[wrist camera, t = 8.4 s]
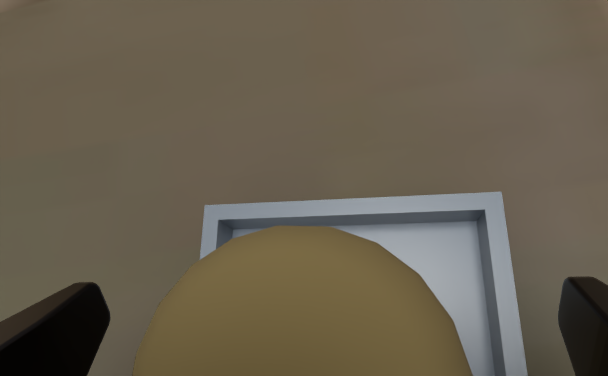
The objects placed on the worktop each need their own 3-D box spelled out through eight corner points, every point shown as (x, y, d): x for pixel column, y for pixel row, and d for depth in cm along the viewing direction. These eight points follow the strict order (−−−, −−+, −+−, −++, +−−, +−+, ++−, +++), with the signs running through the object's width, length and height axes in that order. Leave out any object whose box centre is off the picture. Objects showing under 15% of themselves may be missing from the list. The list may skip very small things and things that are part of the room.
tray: (532, 546, 13) (557, 585, 11) (203, 514, 15) (173, 542, 13) (488, 209, 17) (501, 191, 15) (225, 219, 19) (204, 205, 17)
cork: (266, 282, 17) (70, 202, 7) (423, 264, 16) (476, 138, 6) (276, 460, 15) (12, 739, 5) (456, 451, 14) (633, 776, 4)
